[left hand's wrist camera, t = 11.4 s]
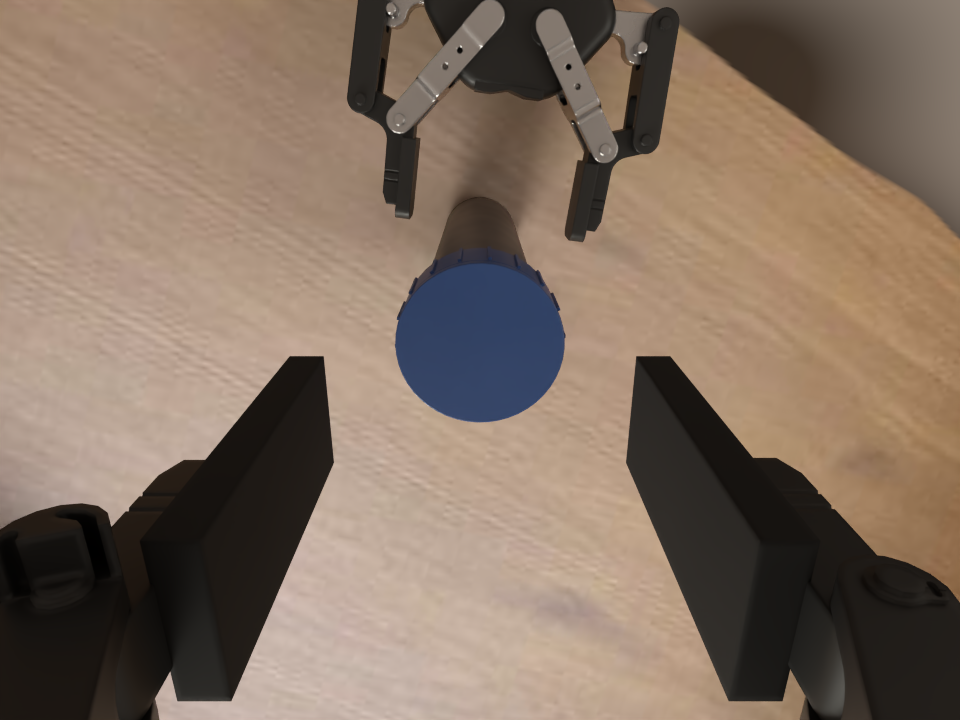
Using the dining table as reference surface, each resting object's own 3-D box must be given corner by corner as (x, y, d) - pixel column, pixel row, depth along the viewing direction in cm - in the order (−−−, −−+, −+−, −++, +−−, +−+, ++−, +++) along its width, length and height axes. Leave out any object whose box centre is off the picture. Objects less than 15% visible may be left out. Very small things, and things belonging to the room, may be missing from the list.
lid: (426, 408, 22) (420, 440, 19) (383, 265, 20) (371, 283, 18) (570, 376, 21) (580, 405, 19) (539, 227, 19) (547, 241, 17)
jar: (455, 274, 38) (431, 417, 20) (437, 206, 37) (394, 292, 18) (521, 258, 38) (560, 388, 19) (506, 189, 36) (533, 259, 18)
